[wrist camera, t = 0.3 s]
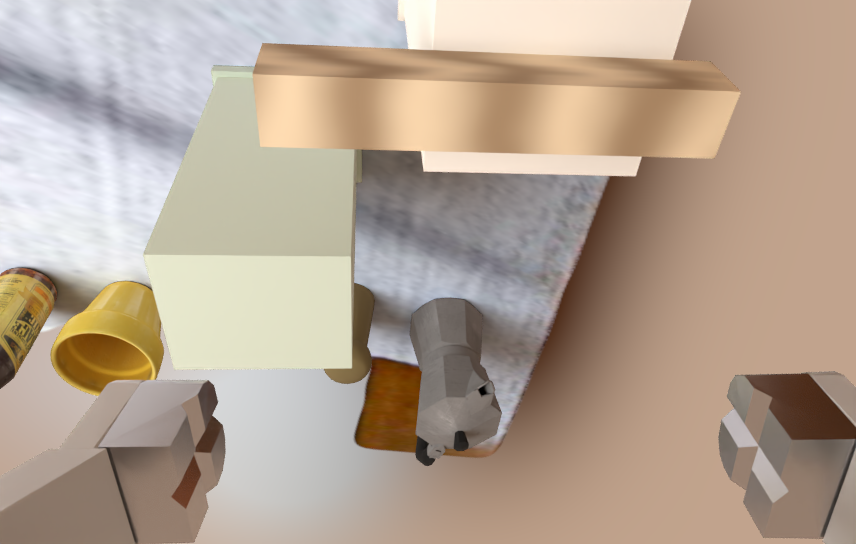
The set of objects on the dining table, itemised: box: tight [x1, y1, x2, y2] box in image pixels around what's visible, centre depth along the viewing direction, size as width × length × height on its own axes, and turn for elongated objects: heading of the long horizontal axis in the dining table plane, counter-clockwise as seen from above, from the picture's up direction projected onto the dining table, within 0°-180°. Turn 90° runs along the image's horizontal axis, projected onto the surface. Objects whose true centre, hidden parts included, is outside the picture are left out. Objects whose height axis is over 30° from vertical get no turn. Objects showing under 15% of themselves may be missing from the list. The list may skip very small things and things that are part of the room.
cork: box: [324, 283, 375, 384], centre depth 72 cm, size 6×6×11 cm
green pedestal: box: [143, 65, 362, 370], centre depth 52 cm, size 13×11×26 cm
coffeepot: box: [410, 298, 502, 466], centre depth 74 cm, size 15×9×18 cm, turn 152°
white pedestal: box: [398, 0, 691, 176], centre depth 43 cm, size 13×11×26 cm
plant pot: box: [51, 281, 164, 396], centre depth 71 cm, size 10×10×10 cm
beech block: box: [252, 43, 741, 158], centre depth 31 cm, size 22×4×4 cm, turn 86°
